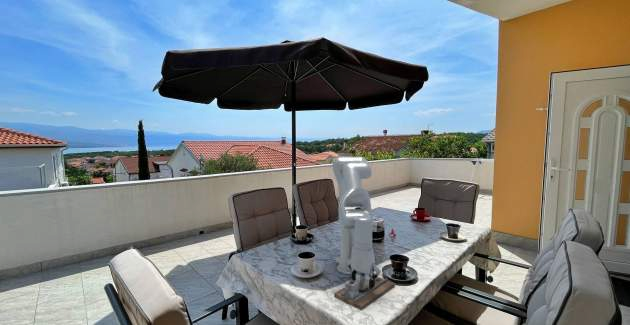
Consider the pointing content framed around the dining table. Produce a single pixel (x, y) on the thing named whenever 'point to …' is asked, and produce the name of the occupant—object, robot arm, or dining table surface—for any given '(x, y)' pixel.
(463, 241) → the dining table surface
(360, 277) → the grey sliding block
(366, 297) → the bolt plate
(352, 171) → the robot arm
